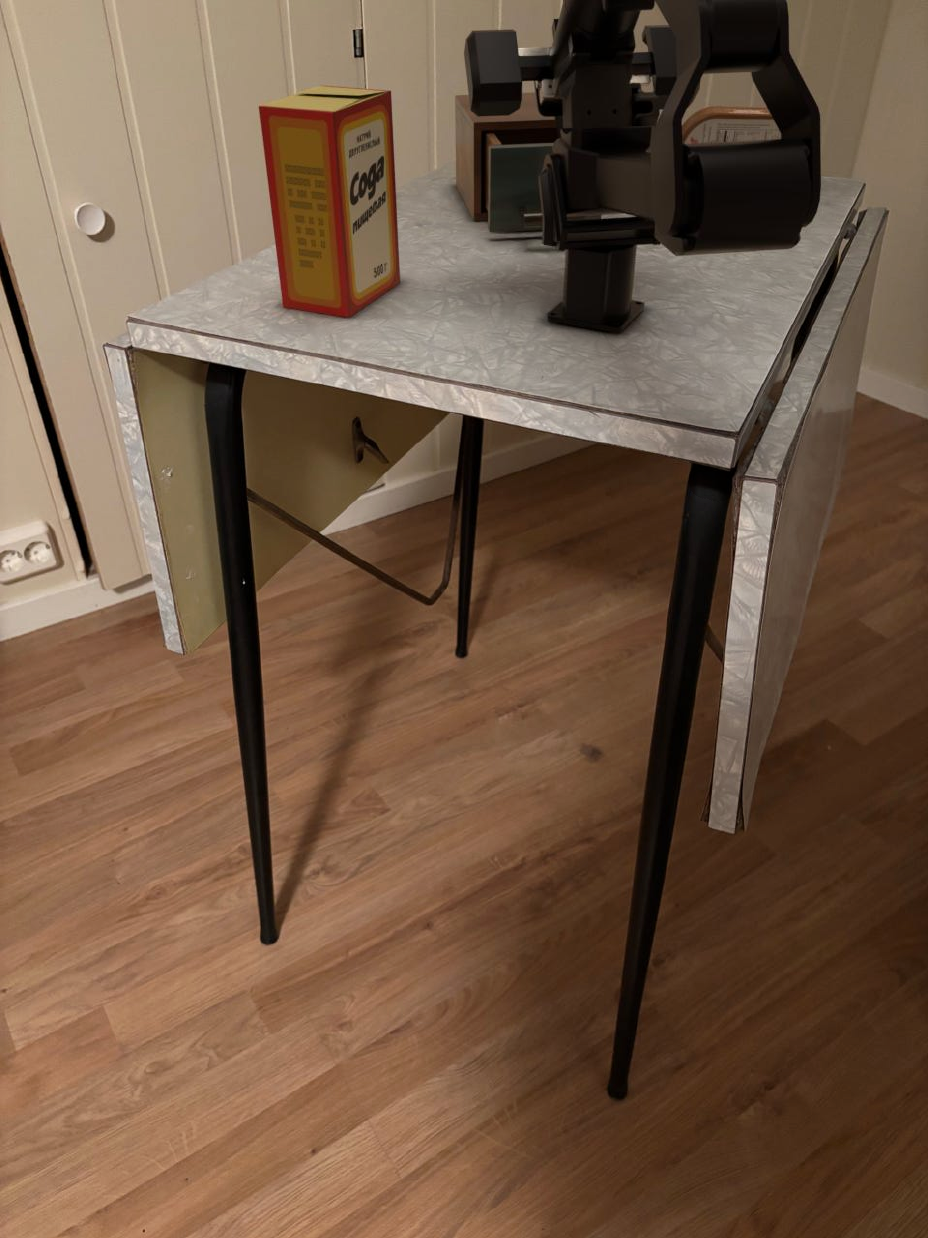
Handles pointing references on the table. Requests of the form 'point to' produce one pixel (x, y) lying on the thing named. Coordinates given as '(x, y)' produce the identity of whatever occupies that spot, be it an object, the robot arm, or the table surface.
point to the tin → (729, 125)
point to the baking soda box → (332, 197)
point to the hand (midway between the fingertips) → (562, 133)
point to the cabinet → (470, 144)
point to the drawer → (515, 177)
